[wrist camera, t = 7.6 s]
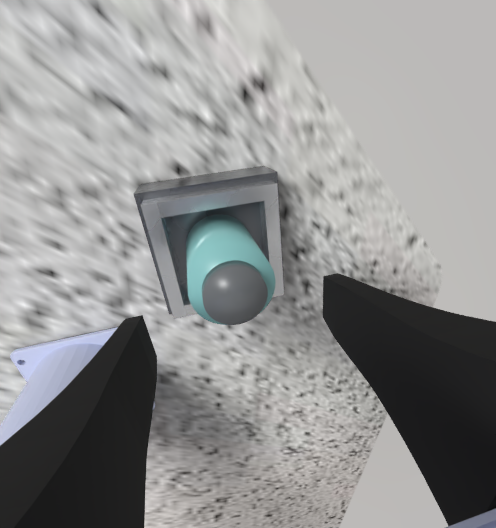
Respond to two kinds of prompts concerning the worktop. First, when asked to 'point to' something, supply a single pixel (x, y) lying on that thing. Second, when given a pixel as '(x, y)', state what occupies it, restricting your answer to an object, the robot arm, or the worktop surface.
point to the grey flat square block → (203, 205)
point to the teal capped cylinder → (226, 271)
